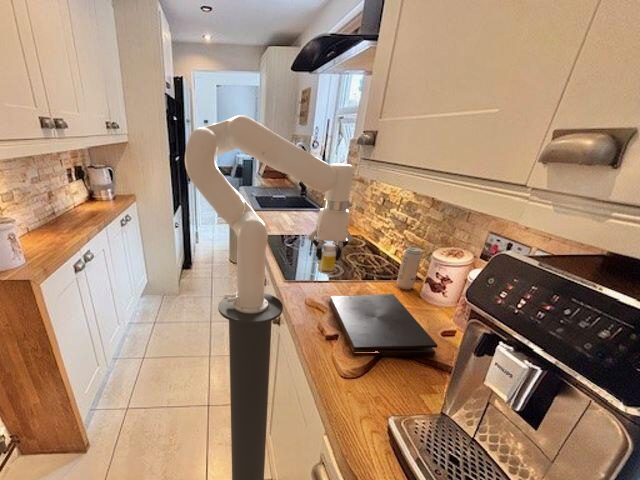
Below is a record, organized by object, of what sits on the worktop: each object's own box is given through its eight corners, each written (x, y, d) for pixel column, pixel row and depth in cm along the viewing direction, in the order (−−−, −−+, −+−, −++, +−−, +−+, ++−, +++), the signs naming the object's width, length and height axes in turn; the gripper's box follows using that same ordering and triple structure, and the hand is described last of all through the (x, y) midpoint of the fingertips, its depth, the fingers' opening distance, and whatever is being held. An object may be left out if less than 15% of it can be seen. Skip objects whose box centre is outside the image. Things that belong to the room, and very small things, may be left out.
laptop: (391, 304, 112) (392, 299, 111) (434, 357, 85) (436, 351, 84) (329, 303, 113) (330, 298, 112) (353, 355, 86) (354, 349, 85)
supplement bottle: (336, 273, 114) (341, 246, 109) (325, 275, 111) (329, 248, 107) (325, 268, 118) (329, 241, 114) (314, 270, 116) (318, 243, 111)
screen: (393, 296, 110) (393, 294, 110) (437, 347, 84) (437, 345, 83) (330, 298, 112) (330, 296, 111) (354, 350, 85) (354, 347, 85)
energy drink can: (412, 291, 121) (423, 252, 114) (395, 288, 124) (404, 250, 117) (413, 285, 126) (423, 247, 119) (396, 282, 128) (405, 245, 122)
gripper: (359, 204, 108) (349, 256, 116) (307, 202, 108) (301, 254, 116) (365, 208, 101) (355, 263, 109) (310, 207, 101) (304, 262, 110)
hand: (327, 258), depth 113 cm, fingers closed on supplement bottle, 5 cm apart
